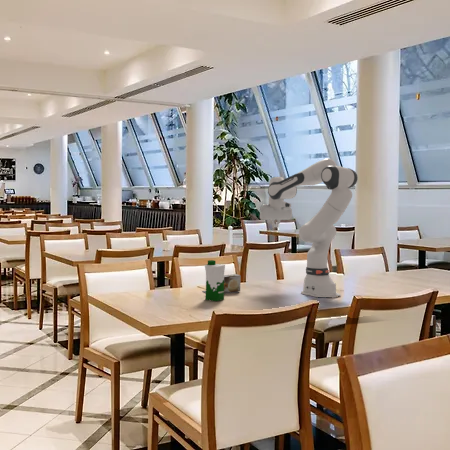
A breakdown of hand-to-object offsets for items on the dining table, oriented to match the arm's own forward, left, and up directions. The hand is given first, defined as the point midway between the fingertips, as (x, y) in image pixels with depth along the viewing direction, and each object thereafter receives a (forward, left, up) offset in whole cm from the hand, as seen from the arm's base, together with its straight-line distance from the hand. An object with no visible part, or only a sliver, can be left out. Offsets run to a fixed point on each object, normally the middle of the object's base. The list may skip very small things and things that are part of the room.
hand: (275, 227), depth 347 cm
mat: (-14, +41, -34) cm, 55 cm away
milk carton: (-33, +52, -34) cm, 71 cm away
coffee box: (-15, +31, -29) cm, 45 cm away
